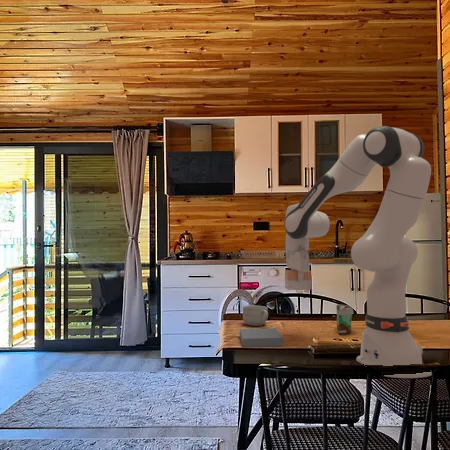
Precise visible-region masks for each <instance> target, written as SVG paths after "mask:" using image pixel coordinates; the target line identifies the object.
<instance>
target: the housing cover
mask: <svg viewBox="0 0 450 450" xmlns="http://www.w3.org/2000/svg"><path fill="white" fill-rule="evenodd" d="M297 278H298V272H297V270H292V269H284V280H285V279H286V280H288V281H293V280H297ZM303 280H311V281H312V270H310V269H309V272H304V276H303Z"/></svg>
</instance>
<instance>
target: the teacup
mask: <svg viewBox="0 0 450 450" xmlns="http://www.w3.org/2000/svg"><path fill="white" fill-rule="evenodd" d="M268 309H269V307H267V306H264V305H253V304H252V305H250V304H249V305H244V306H243V305H242V321H243V322H244V323H245V324H246V325H248V326H250V327H261V326H264V324H265V323H267V320H268V317H269V312H268Z"/></svg>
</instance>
